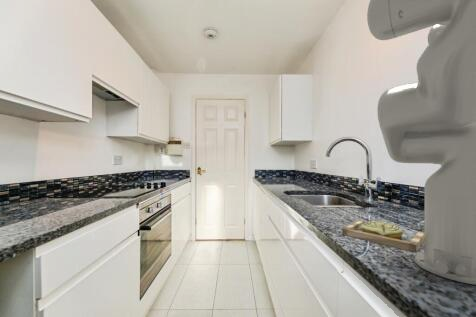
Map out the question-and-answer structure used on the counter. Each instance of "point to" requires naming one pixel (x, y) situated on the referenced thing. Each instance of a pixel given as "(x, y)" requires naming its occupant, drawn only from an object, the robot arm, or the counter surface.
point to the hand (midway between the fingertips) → (458, 139)
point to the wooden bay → (383, 238)
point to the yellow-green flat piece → (382, 229)
